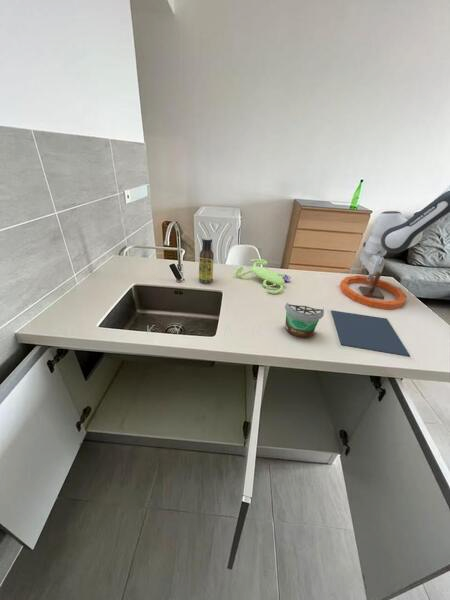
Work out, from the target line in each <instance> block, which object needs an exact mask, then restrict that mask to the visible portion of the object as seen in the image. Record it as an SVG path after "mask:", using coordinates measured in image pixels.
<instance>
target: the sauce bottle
mask: <svg viewBox="0 0 450 600" xmlns="http://www.w3.org/2000/svg"><path fill="white" fill-rule="evenodd" d="M201 240H202V241H201V242H202V247H201V250H200V252H199V258H198V281H199V282H200V283H202V284H210V283H212V282H213V277H214V276H213V275H214V259H215V258H214V252H213V250H212V243H213V238H212V237H210V236H203V237H202V239H201Z"/></svg>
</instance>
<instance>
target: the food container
mask: <svg viewBox="0 0 450 600" xmlns="http://www.w3.org/2000/svg"><path fill="white" fill-rule="evenodd" d="M284 310H285V311H286V312H285V324H284V328H285V330H286V332H287V333H288V334H289V335H291V336H293V337H294V338H297V339H308V338H310V337H312V336H313V334H314V332H315V330H316V328H317V326H318V323H319V322H320V320H321V319H322V318H323V317H324V315H325V309H324V307H323V308H322V309H321V308H314V307H310V306H308V305H295V304H289V301H287V302H286V303H285V305H284Z"/></svg>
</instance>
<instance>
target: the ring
mask: <svg viewBox="0 0 450 600" xmlns="http://www.w3.org/2000/svg"><path fill="white" fill-rule="evenodd" d="M366 277H367V276H363V275H352V276H345V277H344V278H343V279H342V280H341V281H340V284H339V288H340V291H341V293H342V294H343V295H344V296H346V297H347V298H349V299H350V300H351V301H353V302H356V303H358V304H361V305H363V306H366V307H369V308H372V309H380V310H388V311H390V310H391V311H392V310H395V309H401V308H402V307H403V305H404V303H405V301H406V300H407V295H406V293H405V292H404V291H403V290H402V289H401V288H400V287H397V286H396V285H394V284H392V283H390V282H388V281H385V280H382V279H379V281H378V283H377V286H376V287H377V288H381V289H384V290H385V291H387V292H389V293H391V294H392V295H394V297H395V298H396V299H394V300H389V301H388V300H382V299H375V298H369V297H365V296H363V295H362V294H359V293H358V292H356V291H355V290H354V289H352V288H350V286H349V284H356V283H359V284H367V285H372V283H373V280H374V278H375V277H373V278H372V279H371V281H370V282H369V281H367V280H366Z"/></svg>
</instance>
